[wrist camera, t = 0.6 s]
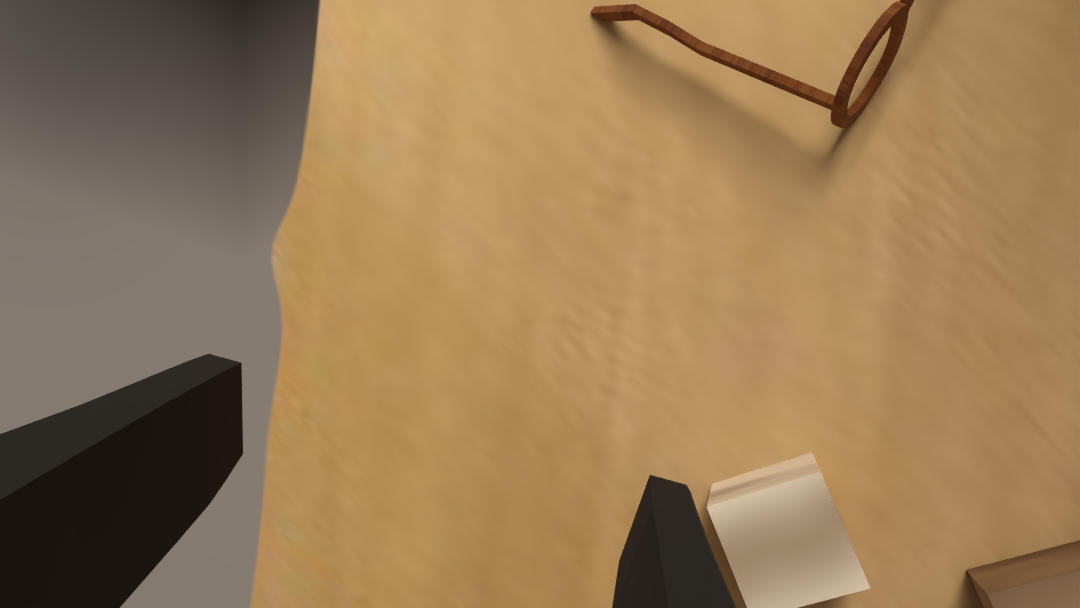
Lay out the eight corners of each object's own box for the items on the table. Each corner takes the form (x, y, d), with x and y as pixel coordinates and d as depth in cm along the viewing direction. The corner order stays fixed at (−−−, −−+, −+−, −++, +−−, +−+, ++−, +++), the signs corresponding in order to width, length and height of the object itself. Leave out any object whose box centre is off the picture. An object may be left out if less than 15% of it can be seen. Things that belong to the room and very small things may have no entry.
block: (854, 552, 29) (870, 588, 25) (751, 581, 30) (751, 619, 26) (811, 451, 30) (820, 471, 26) (712, 483, 31) (706, 507, 27)
